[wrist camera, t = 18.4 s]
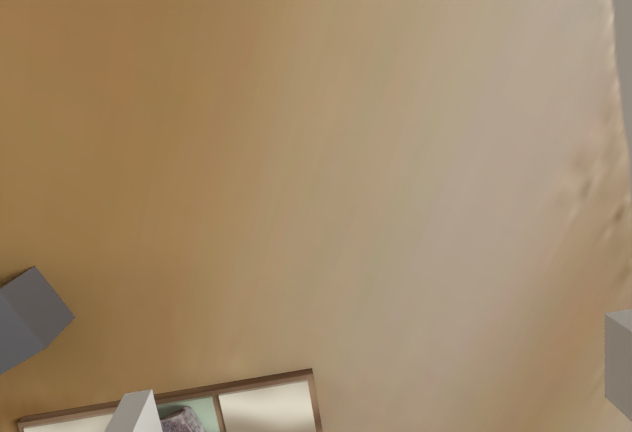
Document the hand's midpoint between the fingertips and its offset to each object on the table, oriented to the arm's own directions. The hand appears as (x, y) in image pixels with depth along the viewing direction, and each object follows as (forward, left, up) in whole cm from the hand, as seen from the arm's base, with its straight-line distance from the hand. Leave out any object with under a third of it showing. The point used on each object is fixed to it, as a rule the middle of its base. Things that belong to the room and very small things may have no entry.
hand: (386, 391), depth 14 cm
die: (+7, -28, -32) cm, 43 cm away
